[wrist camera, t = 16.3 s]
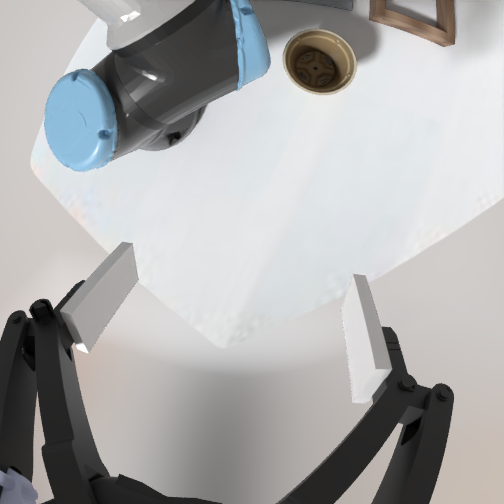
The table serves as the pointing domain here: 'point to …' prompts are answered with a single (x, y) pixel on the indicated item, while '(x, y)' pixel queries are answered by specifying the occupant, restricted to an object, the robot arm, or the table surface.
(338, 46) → the flower pot
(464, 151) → the table surface
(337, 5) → the mat
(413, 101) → the table surface
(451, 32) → the holder
